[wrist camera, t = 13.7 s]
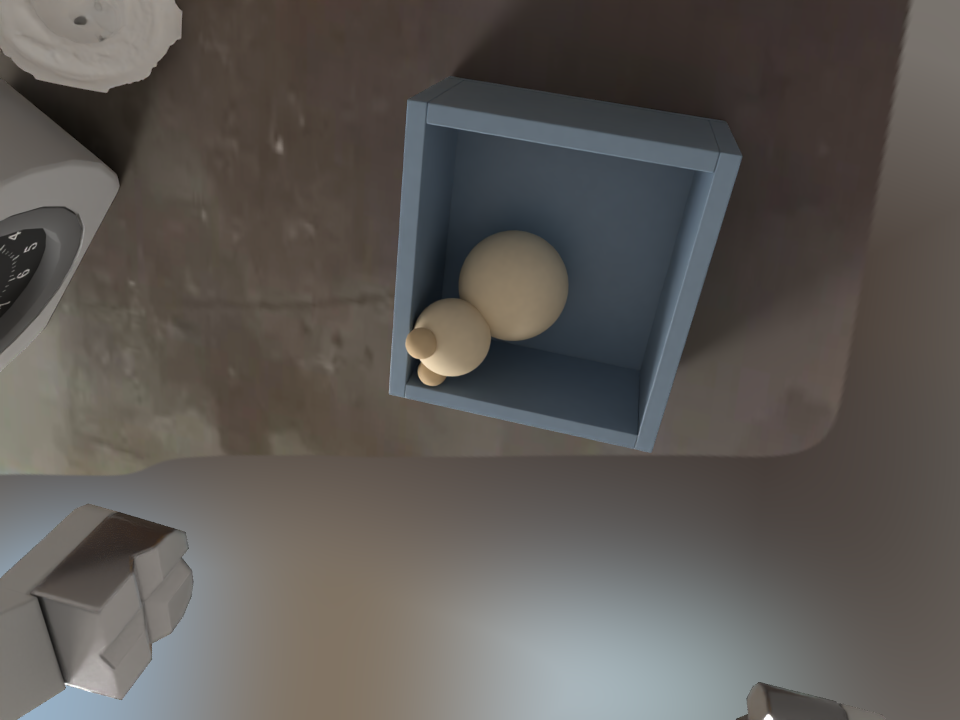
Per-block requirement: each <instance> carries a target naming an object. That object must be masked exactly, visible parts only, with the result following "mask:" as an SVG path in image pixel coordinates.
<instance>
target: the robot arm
mask: <svg viewBox="0 0 960 720" xmlns="http://www.w3.org/2000/svg"><path fill="white" fill-rule="evenodd" d="M188 549H189V547H188V542H187V537H186V532H184V531H181V530H178V529H174V528H171V527H168V526H164V525H161V524H157V523H154V522H151V521H147V520H144V519H140V518H137V517H134V516H130V515H127V514H124V513H120V512H117V511H113V510H109V509H106V508H102V507H98V506H95V505H91V504H86V505H84V506H81V507H79V508H77V509H75V510H74V511H73V512H72V513H71V514H69V515H68V516H67V517H66V518H65V519H64V520H63V521H62V522H61V523H60V524H58V525H57V526H56V527H55V528H54V529H53V530H52V531H51V532H50V533H49V534H48V535H46V537H44V538H43V539H42V540H41V541H40V542H39V543H38V544H37V545H36V546H35V547H33V548H32V549H31V550H30V551H29V552H28V553H27V554H26V555H25V556H24V557H23V558H22V559H20V560H19V561H18V562H17V563H16V564H15V565H14V566H13V567H12V568H11V569H9V570H8V571H7V572H6V573H5V574H4V575H3V576H2V577H1V578H0V720H17V719H18V718H20V717H21V716H23V715H25V714H26V713H28V712H30V711H31V710H33V709H34V708H36V707H38V706H39V705H41V704H42V703H44V702H46V701H47V700H49V699H50V698H52V697H54V696H55V695H57V694H58V693H60V692H61V691H63V690H65V688H66V687H65V685H68V686H71V687H75V688H79V689H82V690H86V691H90V692H93V693H97V694H101V695H104V696H108V697H112V698H115V699H119V700H122V699H123V698H124V696H125V695H126V694H127V692H128V691H129V690H130V688H131V687H132V686H133V684H134V683H135V682H136V680H137V679H138V678H139V676H140V675H141V674H142V672H143V671H144V669H145V668H146V667H147V665H148V664H149V663H150V661H151V660H152V643H154V642H156V641H158V640H159V639H161V638H163V637H165V636H167V635H169V634H171V633H172V632H173V630H174V629H175V627H176V626H177V624H178V623H179V622H180V620H181V619H182V617H183V615H184V613H185V611H186V608H187V606H188V604H189V601H190V599H191V596H192V589H193V575H192V570H191V569H190V567H189V566H188V565H187V563H186V562H185V561H184V560H183V559H182V556H183V555H184V554H185V553H186V551H187V550H188ZM747 708H748V714H747V715H744V716H742V717H740V718H737V719H736V720H886V719H885V718H884V716H883V715H882V714H878V713H874V712H871V711H867V710H863V709H860V708H856V707H852V706H848V705H844V704H839V703H837V702H836V701H833V700H829V699H824V698H821V697H817V696H813V695H809V694H805V693H800V692H796V691H793V690H788V689H785V688H781V687H777V686H773V685H768V684H765V683H761V682H758V683H757V684H756V685H754V686H753V687H752V689H751V691H750V693H749V695H748V696H747Z"/></svg>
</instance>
